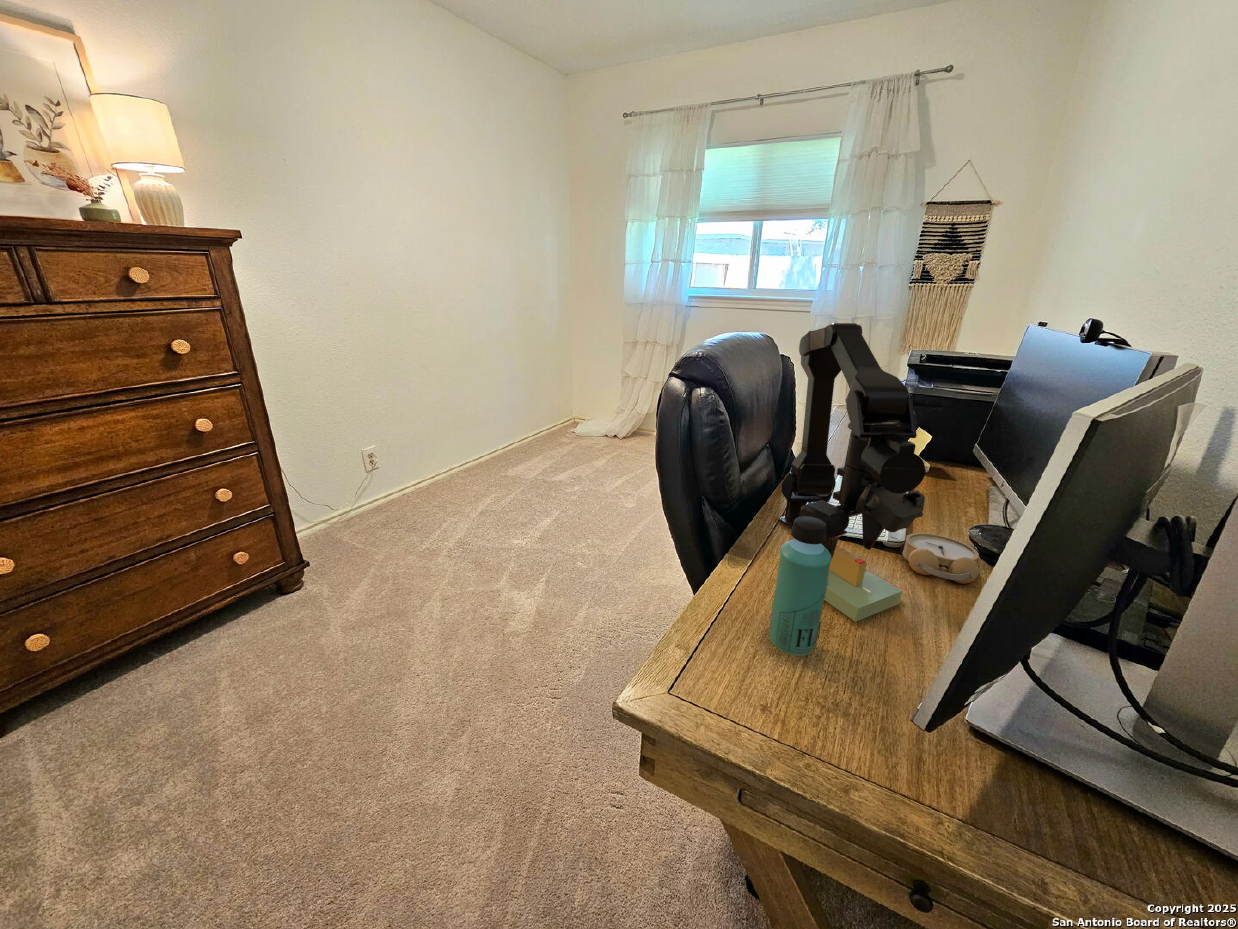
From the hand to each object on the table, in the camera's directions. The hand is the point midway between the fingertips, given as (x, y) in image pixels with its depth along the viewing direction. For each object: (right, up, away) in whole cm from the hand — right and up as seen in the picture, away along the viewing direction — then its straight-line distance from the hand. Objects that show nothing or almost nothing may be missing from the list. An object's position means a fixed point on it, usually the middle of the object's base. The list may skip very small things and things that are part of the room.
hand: (847, 554), depth 78 cm
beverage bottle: (-13, -11, -11) cm, 21 cm away
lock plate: (0, -6, +2) cm, 7 cm away
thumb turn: (0, -4, +1) cm, 4 cm away
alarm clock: (+20, -4, +8) cm, 22 cm away
